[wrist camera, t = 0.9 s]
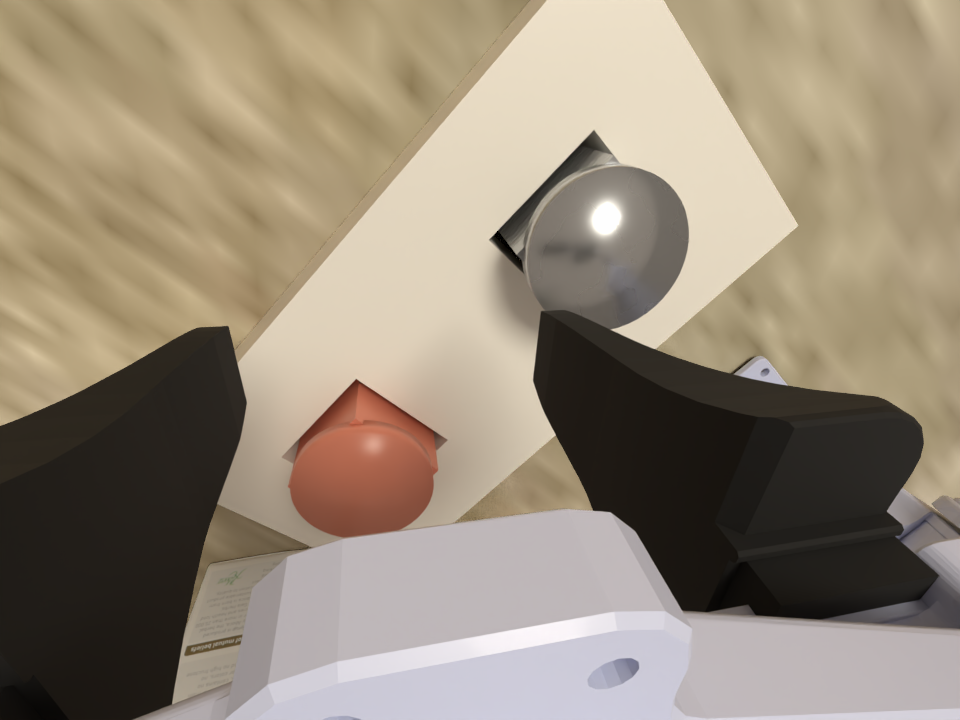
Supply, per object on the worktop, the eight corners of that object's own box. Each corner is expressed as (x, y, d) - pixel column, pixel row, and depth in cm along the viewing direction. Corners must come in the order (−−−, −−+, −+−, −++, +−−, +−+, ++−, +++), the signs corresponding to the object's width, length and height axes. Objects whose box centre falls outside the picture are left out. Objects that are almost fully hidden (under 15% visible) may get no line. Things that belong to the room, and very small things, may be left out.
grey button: (651, 217, 20) (718, 249, 16) (557, 307, 21) (596, 359, 17) (572, 116, 17) (626, 124, 13) (471, 224, 19) (493, 261, 15)
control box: (733, 203, 22) (798, 225, 18) (386, 519, 28) (386, 581, 24) (568, -46, 16) (615, -81, 13) (182, 412, 22) (145, 471, 19)
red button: (449, 409, 23) (461, 478, 19) (377, 478, 24) (374, 556, 20) (358, 345, 20) (350, 408, 16) (284, 425, 22) (260, 501, 18)
